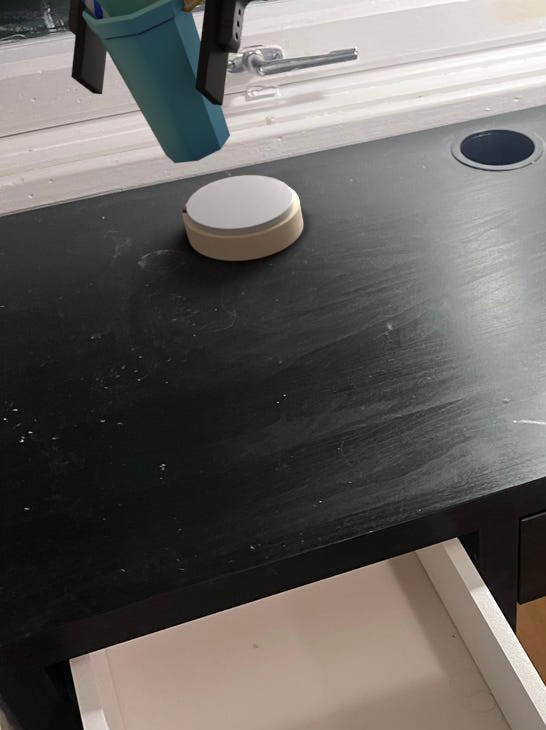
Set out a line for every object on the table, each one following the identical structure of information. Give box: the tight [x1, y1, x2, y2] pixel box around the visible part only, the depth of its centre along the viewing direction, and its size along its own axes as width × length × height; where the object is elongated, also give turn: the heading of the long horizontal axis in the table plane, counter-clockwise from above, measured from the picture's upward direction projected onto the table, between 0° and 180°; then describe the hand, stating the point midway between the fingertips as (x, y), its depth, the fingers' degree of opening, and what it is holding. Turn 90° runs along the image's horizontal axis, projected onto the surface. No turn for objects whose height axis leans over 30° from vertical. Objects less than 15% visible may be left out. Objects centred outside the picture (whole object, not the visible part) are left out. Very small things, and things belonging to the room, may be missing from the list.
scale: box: [181, 174, 304, 262], centre depth 94 cm, size 11×11×3 cm
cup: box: [82, 0, 231, 164], centre depth 72 cm, size 14×8×15 cm, turn 100°
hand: (147, 91), depth 71 cm, fingers closed on cup, 9 cm apart
